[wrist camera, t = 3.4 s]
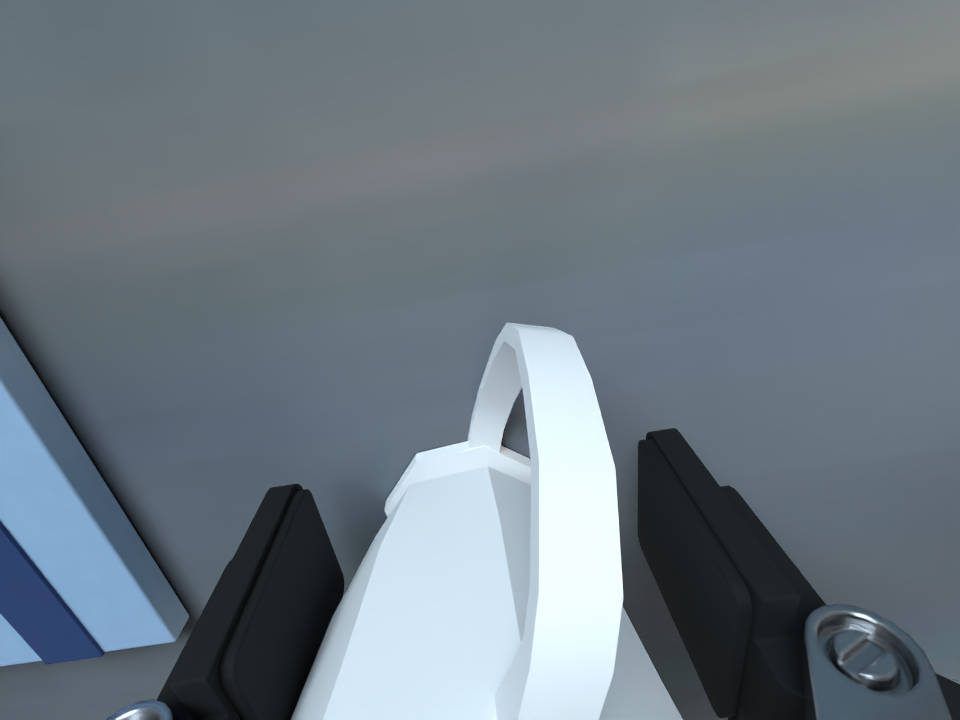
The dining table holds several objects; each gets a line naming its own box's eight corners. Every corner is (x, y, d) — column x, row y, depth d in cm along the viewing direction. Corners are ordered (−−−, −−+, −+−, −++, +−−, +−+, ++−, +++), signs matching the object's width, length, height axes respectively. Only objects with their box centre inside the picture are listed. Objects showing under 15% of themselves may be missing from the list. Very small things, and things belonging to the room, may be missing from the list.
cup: (332, 591, 14) (193, 1122, 6) (338, 240, 9) (-71, 638, 2) (571, 603, 14) (691, 1091, 7) (677, 284, 10) (1261, 694, 3)
